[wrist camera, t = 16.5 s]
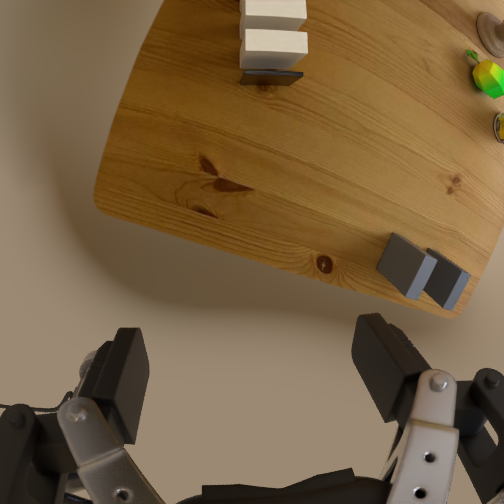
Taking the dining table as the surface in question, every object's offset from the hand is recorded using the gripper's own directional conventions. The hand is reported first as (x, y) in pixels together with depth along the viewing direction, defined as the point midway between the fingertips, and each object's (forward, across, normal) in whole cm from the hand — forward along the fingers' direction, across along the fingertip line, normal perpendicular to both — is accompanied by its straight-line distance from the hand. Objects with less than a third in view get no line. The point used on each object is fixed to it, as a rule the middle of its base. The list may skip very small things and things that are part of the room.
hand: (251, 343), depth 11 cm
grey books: (+30, -27, +11) cm, 42 cm away
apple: (+30, -39, -21) cm, 54 cm away
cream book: (+30, -5, -17) cm, 35 cm away
